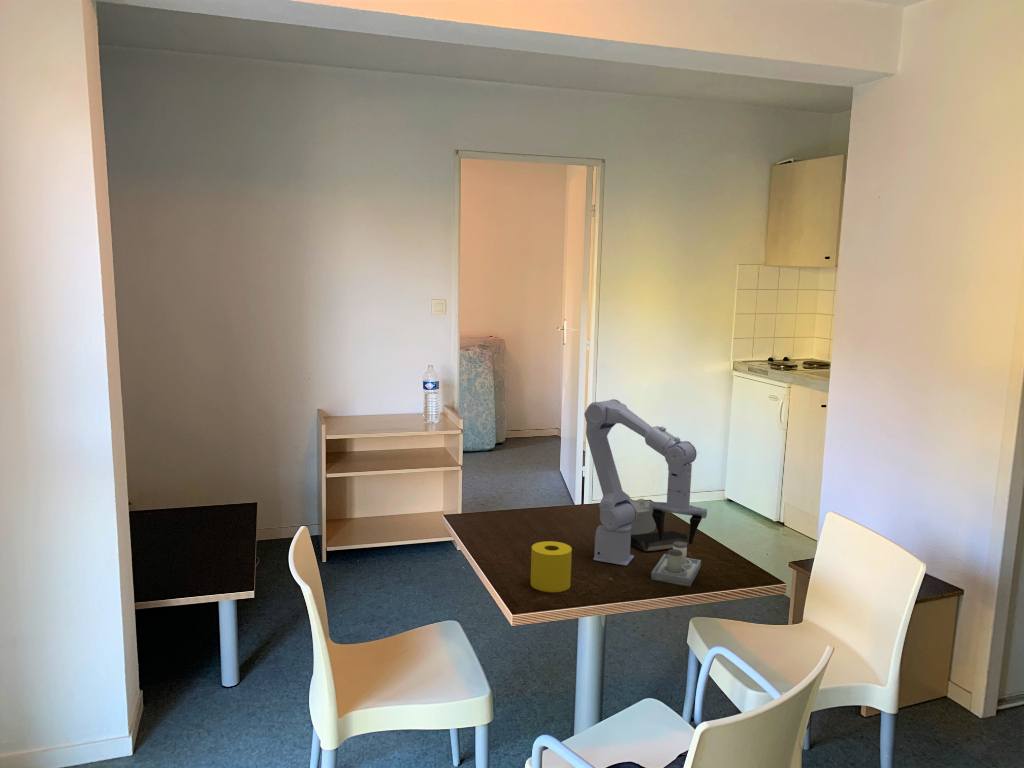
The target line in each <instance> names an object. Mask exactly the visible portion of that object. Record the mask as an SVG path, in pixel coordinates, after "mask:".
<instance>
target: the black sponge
mask: <svg viewBox="0 0 1024 768" xmlns="http://www.w3.org/2000/svg"><path fill="white" fill-rule="evenodd" d="M674 542H684V543H686V544H687V545H689V537H688V535H687V534H685V533H682V532H681V533H680V532H678V531H673V530H671V531H670V530H669V531H664V535H663V538H662V540H660V539H659V535H658V531H657V532H649V533H645V534H638V535H635V534H631V544H630V546H633V547H636V548H639V549H640V550H643V551H645V552H652V551H660V550H667V549H668V550H669V549H673V543H674Z"/></svg>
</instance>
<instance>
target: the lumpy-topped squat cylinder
mask: <svg viewBox="0 0 1024 768" xmlns="http://www.w3.org/2000/svg"><path fill="white" fill-rule="evenodd" d="M630 500H631V502H632V504H633V505H634V506H635V508H636V510H637V518H636V520H635V521H634V522H633V523H632V527H631V535H638V534H648V533H653V532H654V531H655V530H656V529H657V526H656V523H655V521H654V519H653V517H652V513H653V511H651V510H649V503H650V502H651V500H646V499H644V498H638V499H637V500H635V499H632V498H630Z"/></svg>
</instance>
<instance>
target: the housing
mask: <svg viewBox="0 0 1024 768" xmlns="http://www.w3.org/2000/svg"><path fill="white" fill-rule="evenodd" d="M667 561H668V553H664V554H663V555H662V557H661V558H660V559H659V561H658V562H657V564H656V565H655V566H654V568H653V569H652V570H651V575H650V580H653V581H657V582H662V583H669V584H674V585H678V586H683V587H684V586H685V587H692V585H693V582H694V580H695V579H696V577H697V576H698V573H699V572H700V570H701V565H702V560H701V559H696V558H691V557H686V564H685V565H682V566H681V573H671V572H667Z"/></svg>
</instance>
